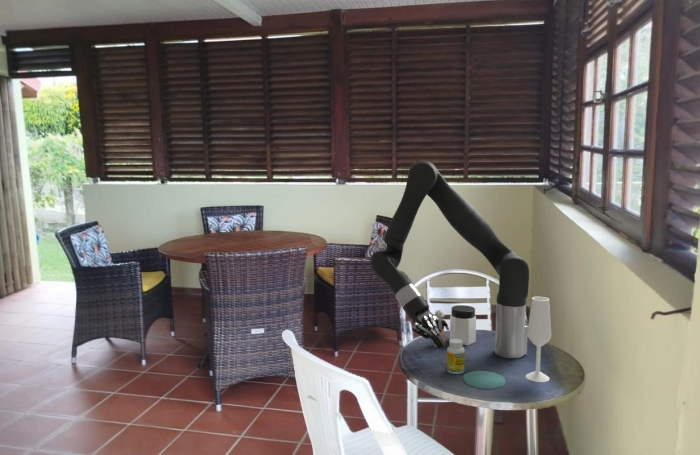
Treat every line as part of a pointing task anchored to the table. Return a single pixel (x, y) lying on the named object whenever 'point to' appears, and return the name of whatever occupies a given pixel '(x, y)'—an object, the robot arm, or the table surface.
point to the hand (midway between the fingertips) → (442, 347)
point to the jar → (463, 324)
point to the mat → (484, 380)
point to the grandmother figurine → (442, 334)
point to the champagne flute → (539, 332)
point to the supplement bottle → (455, 357)
